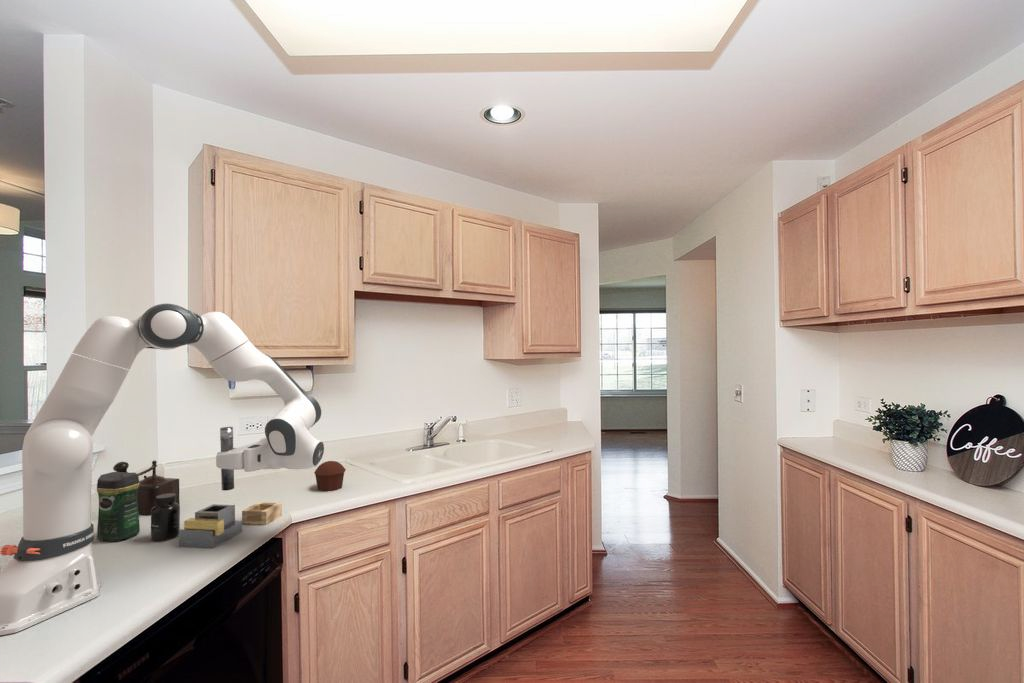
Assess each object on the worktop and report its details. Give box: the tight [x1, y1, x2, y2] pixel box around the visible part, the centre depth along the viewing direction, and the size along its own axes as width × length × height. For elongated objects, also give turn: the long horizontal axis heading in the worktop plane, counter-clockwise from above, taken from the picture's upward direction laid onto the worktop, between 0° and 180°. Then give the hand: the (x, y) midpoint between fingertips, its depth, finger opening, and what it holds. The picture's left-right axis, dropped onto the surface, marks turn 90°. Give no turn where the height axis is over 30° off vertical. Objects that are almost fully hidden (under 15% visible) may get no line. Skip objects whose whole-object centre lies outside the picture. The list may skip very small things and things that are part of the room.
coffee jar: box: [96, 471, 141, 542], centre depth 141 cm, size 10×8×19 cm
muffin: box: [313, 460, 347, 492], centre depth 187 cm, size 12×11×10 cm
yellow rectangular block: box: [183, 517, 224, 536], centre depth 135 cm, size 2×10×4 cm, turn 83°
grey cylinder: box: [219, 426, 235, 491], centre depth 144 cm, size 3×3×18 cm
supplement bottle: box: [150, 493, 181, 543], centre depth 140 cm, size 7×7×12 cm
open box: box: [241, 502, 283, 526], centre depth 154 cm, size 8×8×4 cm
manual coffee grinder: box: [112, 460, 181, 517], centre depth 161 cm, size 16×11×18 cm
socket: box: [178, 504, 243, 549], centre depth 139 cm, size 12×10×8 cm
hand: (224, 453), depth 144 cm, fingers closed on grey cylinder, 3 cm apart
